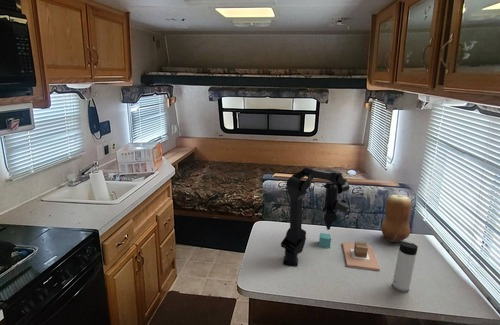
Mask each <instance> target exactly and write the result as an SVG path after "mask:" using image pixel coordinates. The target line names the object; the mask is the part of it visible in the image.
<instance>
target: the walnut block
mask: <svg viewBox="0 0 500 325" xmlns="http://www.w3.org/2000/svg"><path fill="white" fill-rule="evenodd" d="M354 244H355V246H354V254H355V256H356V257H364V258H367V251H368V247H367V245H368V244H367V242H362V241H354Z"/></svg>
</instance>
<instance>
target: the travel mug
mask: <svg viewBox="0 0 500 325" xmlns="http://www.w3.org/2000/svg"><path fill="white" fill-rule="evenodd" d="M418 248H419V247H418V245H416V244H415V243H412V242H407V241H400V242H399V247H398V252H397V253H398V254H397V259H396V262H395V270H394V274H393V279H392V284H391V285H392V287H393V288H394V289H395V290H397V291H399V292H402V293H403V292H404V293H408V292H409V290H410V287H411V282H412V278H413V272H414V268H415V263H416V258H417V255H418V254H417V252H418Z"/></svg>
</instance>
